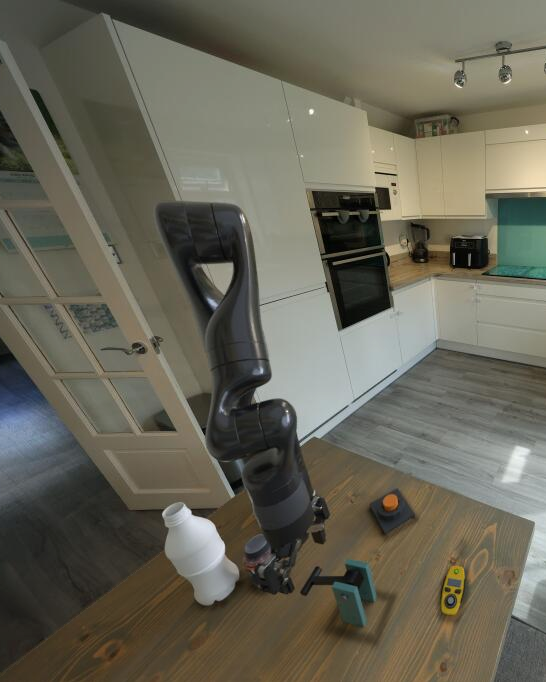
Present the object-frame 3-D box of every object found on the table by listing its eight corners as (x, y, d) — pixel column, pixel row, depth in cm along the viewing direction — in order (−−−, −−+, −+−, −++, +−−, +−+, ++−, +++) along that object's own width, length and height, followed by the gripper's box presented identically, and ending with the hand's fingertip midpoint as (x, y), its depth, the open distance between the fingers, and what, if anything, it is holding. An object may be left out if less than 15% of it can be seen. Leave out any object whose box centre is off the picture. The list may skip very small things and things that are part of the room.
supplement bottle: (271, 595, 65) (255, 562, 60) (247, 588, 66) (229, 555, 61) (292, 565, 70) (279, 532, 65) (270, 559, 71) (255, 526, 66)
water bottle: (195, 618, 61) (137, 536, 50) (204, 582, 67) (154, 501, 56) (239, 598, 64) (193, 517, 53) (245, 565, 70) (204, 486, 59)
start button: (381, 504, 80) (380, 499, 79) (394, 496, 82) (393, 491, 81) (387, 514, 77) (386, 509, 77) (400, 505, 79) (399, 501, 79)
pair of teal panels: (328, 628, 60) (313, 590, 54) (348, 587, 66) (337, 550, 60) (376, 641, 58) (366, 603, 53) (392, 598, 64) (385, 560, 59)
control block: (370, 509, 82) (368, 499, 81) (398, 493, 87) (396, 483, 85) (386, 538, 75) (384, 528, 74) (415, 519, 80) (414, 508, 78)
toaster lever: (303, 597, 59) (297, 589, 58) (319, 572, 63) (313, 564, 62) (354, 598, 55) (348, 590, 54) (367, 571, 59) (361, 563, 58)
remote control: (436, 611, 61) (453, 536, 74) (436, 616, 61) (453, 541, 75) (460, 616, 60) (473, 539, 73) (460, 621, 61) (472, 544, 74)
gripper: (295, 468, 58) (313, 525, 65) (224, 544, 46) (256, 604, 53) (330, 475, 57) (345, 532, 64) (268, 555, 44) (295, 615, 51)
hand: (305, 564), depth 58 cm, fingers open, 8 cm apart
